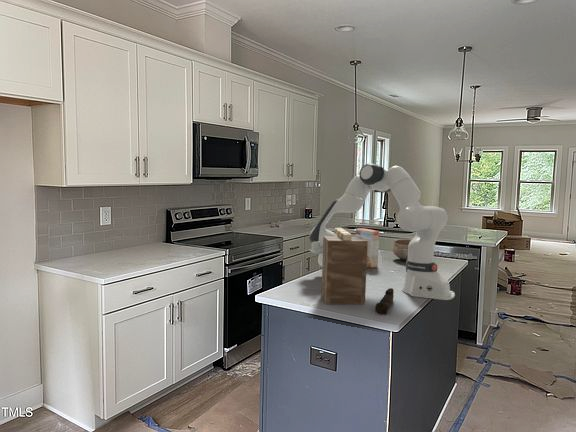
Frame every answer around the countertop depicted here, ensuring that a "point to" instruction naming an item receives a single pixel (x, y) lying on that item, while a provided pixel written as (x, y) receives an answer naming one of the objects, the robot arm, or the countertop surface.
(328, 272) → the wooden shelf
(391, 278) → the countertop surface
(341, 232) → the oak slat
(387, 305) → the hand tool
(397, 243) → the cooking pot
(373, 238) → the cracker box
